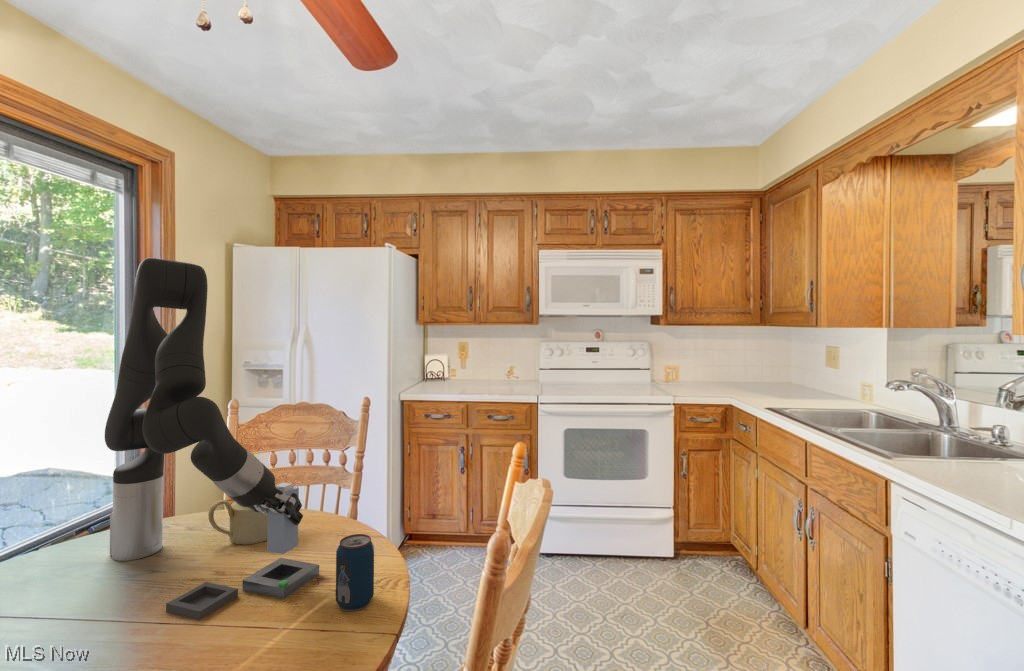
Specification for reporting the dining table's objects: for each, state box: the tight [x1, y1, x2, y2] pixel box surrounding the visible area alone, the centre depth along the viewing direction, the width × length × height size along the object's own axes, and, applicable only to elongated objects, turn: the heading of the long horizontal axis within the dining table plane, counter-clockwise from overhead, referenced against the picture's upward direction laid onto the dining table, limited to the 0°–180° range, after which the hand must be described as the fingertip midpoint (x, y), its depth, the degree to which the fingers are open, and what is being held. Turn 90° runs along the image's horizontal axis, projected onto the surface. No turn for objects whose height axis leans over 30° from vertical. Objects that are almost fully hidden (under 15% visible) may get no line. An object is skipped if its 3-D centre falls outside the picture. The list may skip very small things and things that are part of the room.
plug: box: [266, 482, 300, 555], centre depth 97 cm, size 4×4×13 cm
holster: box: [165, 581, 239, 621], centre depth 89 cm, size 8×8×2 cm
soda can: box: [335, 533, 375, 612], centre depth 91 cm, size 7×7×12 cm
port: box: [241, 557, 320, 600], centre depth 97 cm, size 10×10×3 cm
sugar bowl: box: [207, 499, 268, 545], centre depth 118 cm, size 15×11×15 cm
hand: (290, 518), depth 99 cm, fingers closed on plug, 4 cm apart
